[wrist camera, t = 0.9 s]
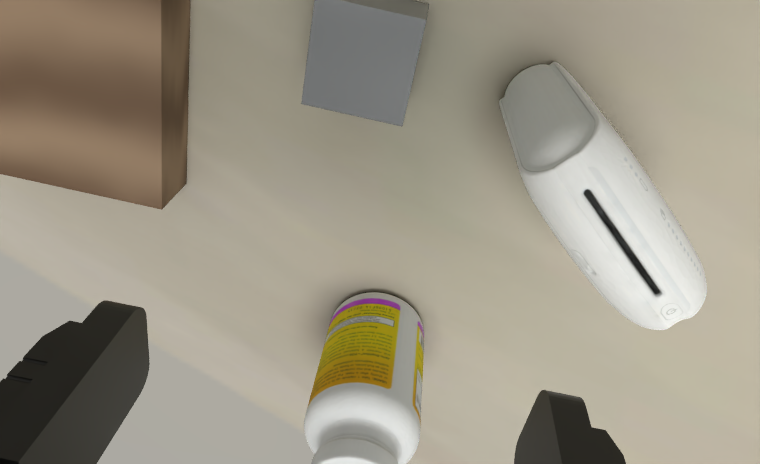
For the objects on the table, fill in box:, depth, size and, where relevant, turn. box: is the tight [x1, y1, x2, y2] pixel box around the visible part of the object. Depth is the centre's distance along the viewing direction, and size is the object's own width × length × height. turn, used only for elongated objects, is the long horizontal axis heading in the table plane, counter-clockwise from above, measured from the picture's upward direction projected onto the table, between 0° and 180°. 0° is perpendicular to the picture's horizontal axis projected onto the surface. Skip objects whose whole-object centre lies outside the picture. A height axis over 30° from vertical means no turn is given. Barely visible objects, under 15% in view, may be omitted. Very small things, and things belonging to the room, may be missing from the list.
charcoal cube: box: [301, 0, 429, 126], centre depth 28 cm, size 5×5×5 cm
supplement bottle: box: [304, 292, 424, 464], centre depth 34 cm, size 7×7×13 cm
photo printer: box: [499, 62, 707, 330], centre depth 26 cm, size 10×4×12 cm, turn 39°
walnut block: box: [0, 0, 190, 209], centre depth 31 cm, size 12×12×4 cm
